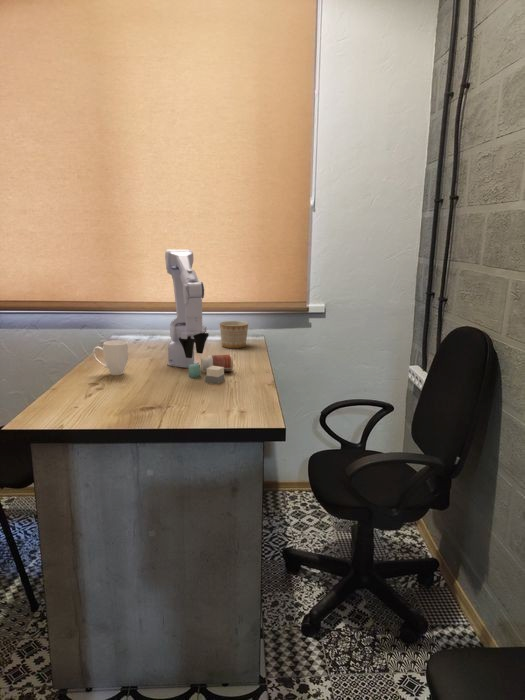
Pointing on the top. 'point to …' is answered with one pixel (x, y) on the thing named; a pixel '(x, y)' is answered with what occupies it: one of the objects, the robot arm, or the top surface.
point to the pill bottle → (217, 362)
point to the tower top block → (215, 371)
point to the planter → (233, 334)
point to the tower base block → (214, 379)
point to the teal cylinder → (194, 370)
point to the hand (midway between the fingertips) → (194, 355)
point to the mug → (114, 356)
